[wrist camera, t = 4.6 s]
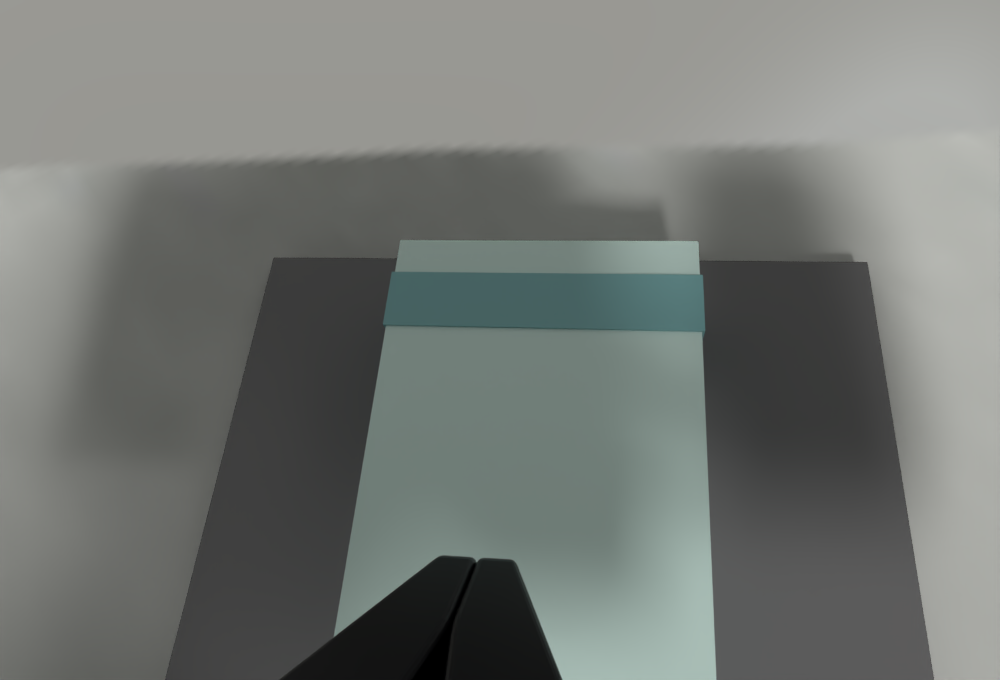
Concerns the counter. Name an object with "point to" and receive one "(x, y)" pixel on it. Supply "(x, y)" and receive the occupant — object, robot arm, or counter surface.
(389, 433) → the carton
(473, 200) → the counter surface
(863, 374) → the mat
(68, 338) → the counter surface
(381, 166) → the counter surface
